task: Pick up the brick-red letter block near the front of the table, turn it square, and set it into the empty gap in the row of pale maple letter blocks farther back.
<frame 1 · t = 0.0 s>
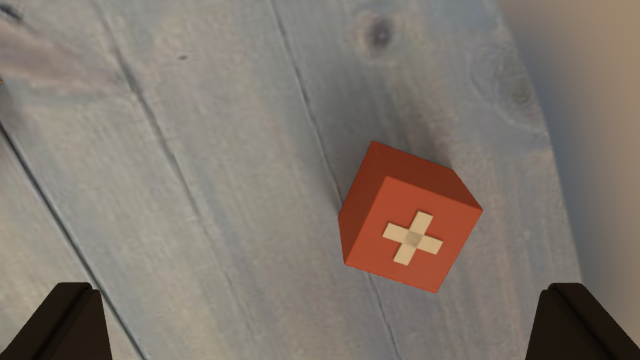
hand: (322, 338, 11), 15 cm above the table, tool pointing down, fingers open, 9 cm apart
red letter block: (394, 194, 26), on the table
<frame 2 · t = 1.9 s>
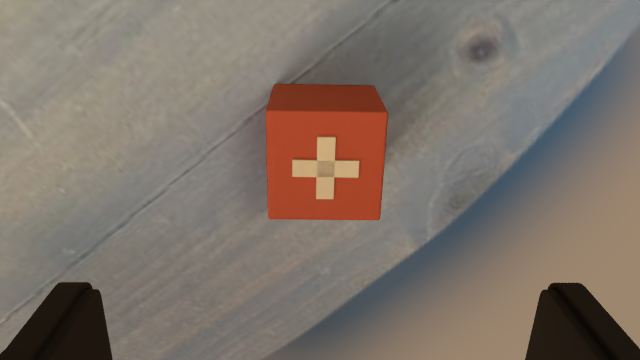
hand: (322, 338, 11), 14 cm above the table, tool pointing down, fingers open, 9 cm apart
red letter block: (323, 132, 24), on the table
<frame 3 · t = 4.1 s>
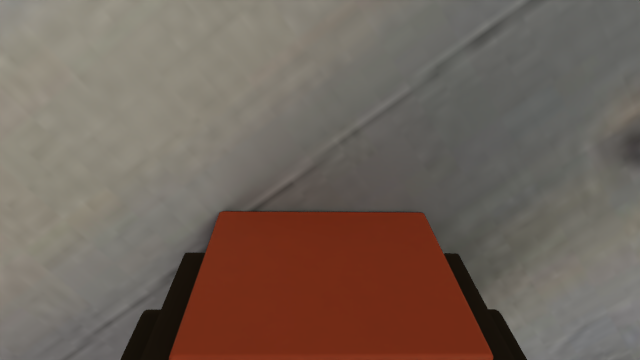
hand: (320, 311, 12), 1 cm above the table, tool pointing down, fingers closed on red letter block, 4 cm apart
red letter block: (320, 295, 12), on the table, touching gripper
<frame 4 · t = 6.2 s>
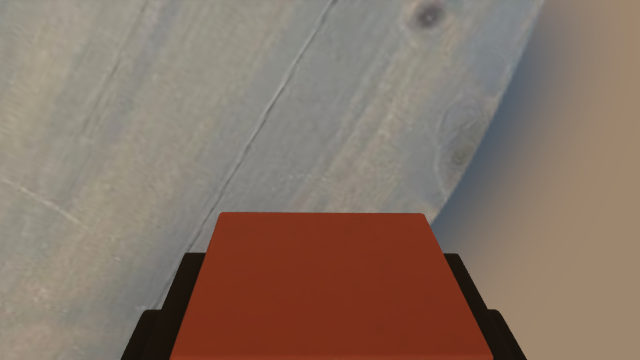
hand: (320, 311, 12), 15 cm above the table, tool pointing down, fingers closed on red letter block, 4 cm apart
red letter block: (320, 296, 12), point 15 cm above the table, touching gripper
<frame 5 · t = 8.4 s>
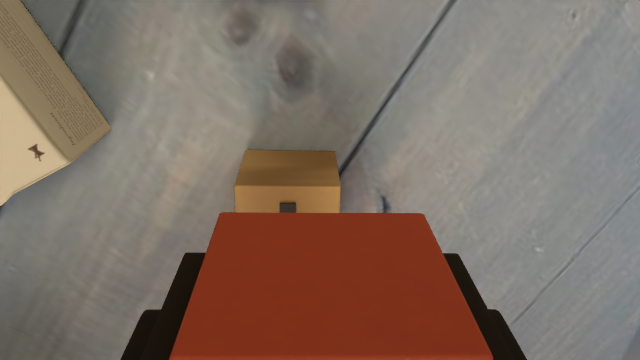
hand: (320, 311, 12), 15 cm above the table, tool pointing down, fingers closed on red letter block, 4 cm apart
red letter block: (320, 296, 12), point 14 cm above the table, touching gripper
small box: (3, 96, 24), on the table
wooden letter t cube 3: (290, 190, 27), on the table
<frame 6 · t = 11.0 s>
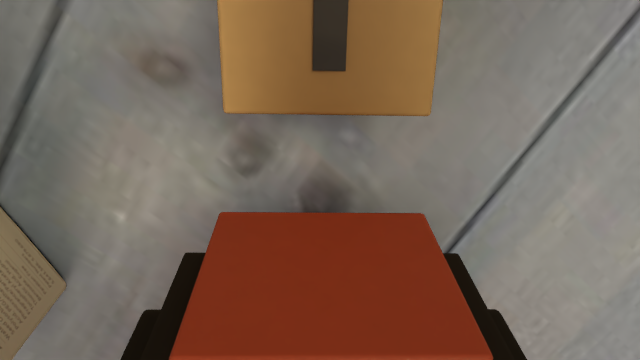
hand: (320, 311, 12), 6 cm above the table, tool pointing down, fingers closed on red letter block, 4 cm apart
red letter block: (320, 296, 12), point 5 cm above the table, touching gripper
when the fingers open (1 cm above the table, at t = 12.9 s): red letter block stays where it is, on the table.
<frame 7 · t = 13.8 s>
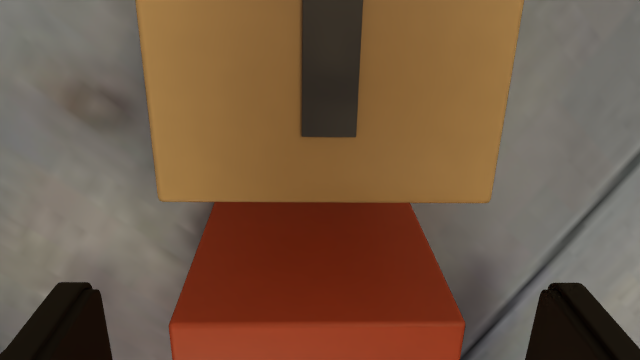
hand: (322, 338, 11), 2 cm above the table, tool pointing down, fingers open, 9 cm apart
red letter block: (311, 279, 13), on the table
line block 2: (319, 5, 10), on the table
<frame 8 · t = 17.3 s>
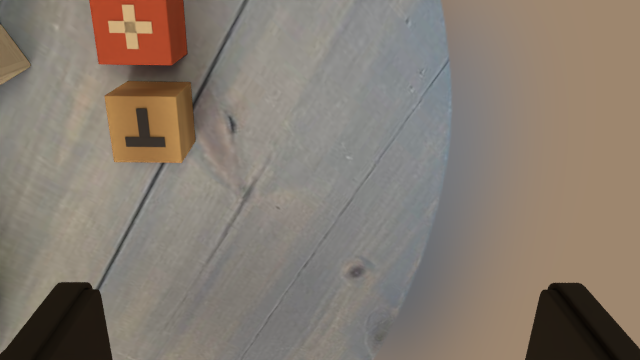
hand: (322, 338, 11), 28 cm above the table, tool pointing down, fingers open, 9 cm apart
red letter block: (151, 20, 35), on the table
wooden letter t cube 3: (162, 112, 37), on the table
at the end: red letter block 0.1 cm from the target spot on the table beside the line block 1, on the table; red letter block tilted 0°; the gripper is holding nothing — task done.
